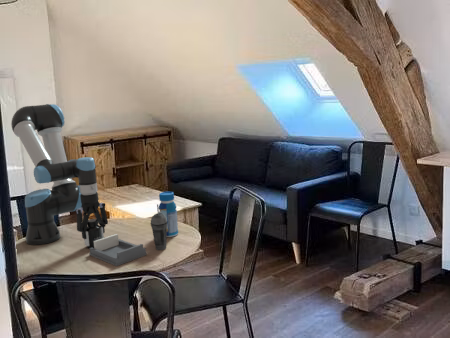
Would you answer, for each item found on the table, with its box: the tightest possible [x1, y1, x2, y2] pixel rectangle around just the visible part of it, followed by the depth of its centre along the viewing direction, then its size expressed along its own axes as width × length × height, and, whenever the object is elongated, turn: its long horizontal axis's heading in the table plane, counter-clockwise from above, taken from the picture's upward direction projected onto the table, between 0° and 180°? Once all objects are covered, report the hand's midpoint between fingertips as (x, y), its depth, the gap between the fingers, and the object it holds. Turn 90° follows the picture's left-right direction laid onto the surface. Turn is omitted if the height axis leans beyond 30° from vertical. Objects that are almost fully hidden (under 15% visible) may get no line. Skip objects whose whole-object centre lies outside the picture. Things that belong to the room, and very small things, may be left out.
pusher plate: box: [94, 233, 120, 251], centre depth 210 cm, size 1×11×5 cm, turn 136°
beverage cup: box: [150, 203, 168, 251], centre depth 208 cm, size 7×7×20 cm
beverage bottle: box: [158, 191, 179, 238], centre depth 225 cm, size 8×8×20 cm
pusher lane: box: [89, 238, 147, 267], centre depth 204 cm, size 20×15×5 cm
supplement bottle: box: [86, 218, 102, 249], centre depth 216 cm, size 7×7×12 cm
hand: (94, 242), depth 217 cm, fingers closed on supplement bottle, 7 cm apart
